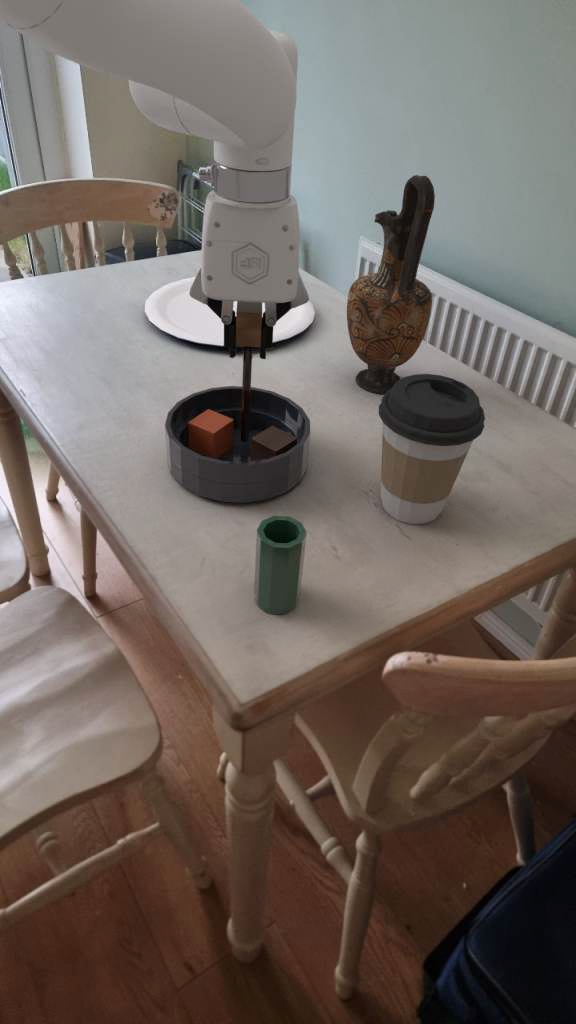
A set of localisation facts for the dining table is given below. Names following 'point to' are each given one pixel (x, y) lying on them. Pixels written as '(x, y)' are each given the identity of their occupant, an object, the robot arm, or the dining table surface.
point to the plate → (210, 316)
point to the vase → (393, 292)
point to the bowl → (238, 446)
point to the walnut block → (271, 443)
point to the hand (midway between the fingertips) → (248, 351)
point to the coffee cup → (425, 443)
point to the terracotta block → (211, 434)
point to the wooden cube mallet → (247, 352)
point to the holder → (279, 564)
